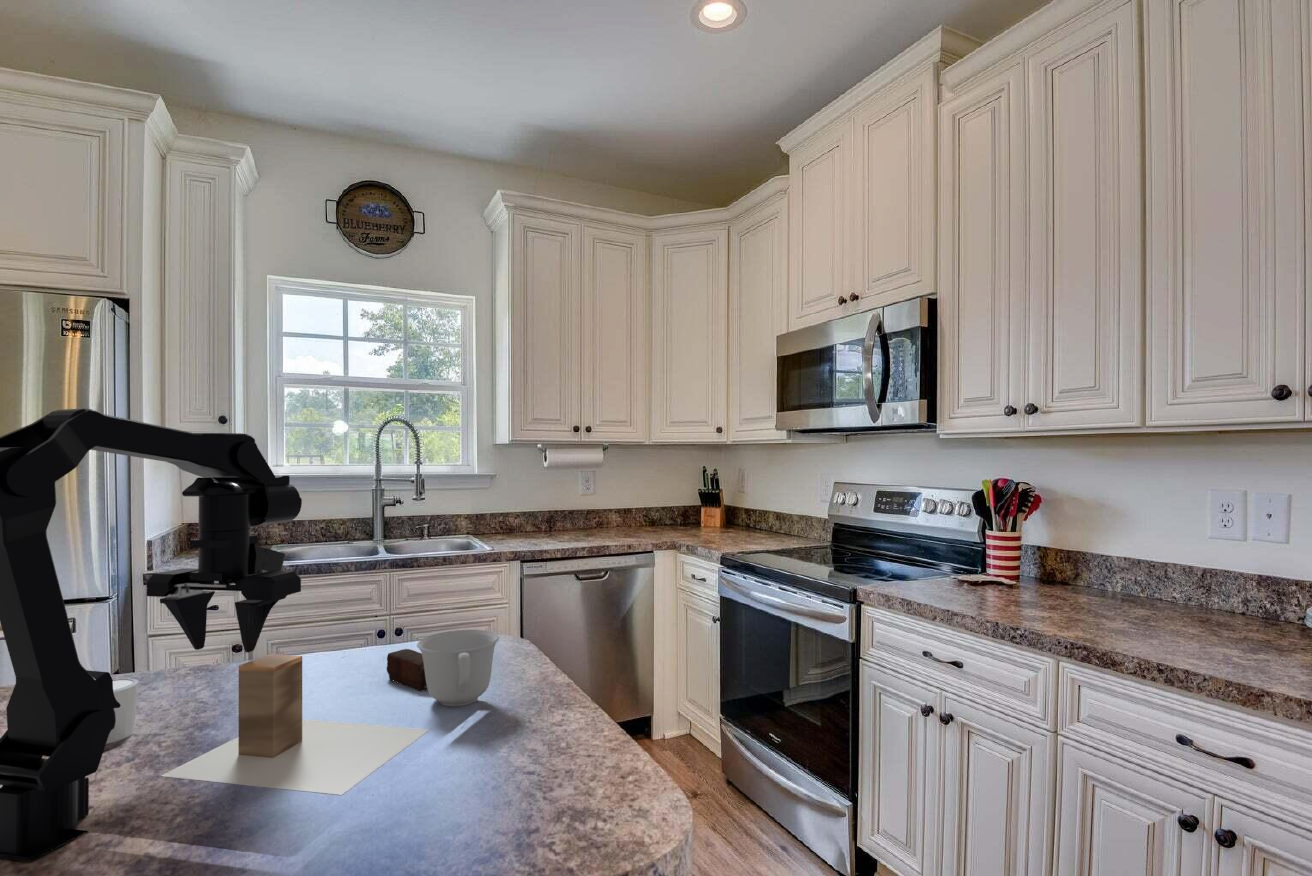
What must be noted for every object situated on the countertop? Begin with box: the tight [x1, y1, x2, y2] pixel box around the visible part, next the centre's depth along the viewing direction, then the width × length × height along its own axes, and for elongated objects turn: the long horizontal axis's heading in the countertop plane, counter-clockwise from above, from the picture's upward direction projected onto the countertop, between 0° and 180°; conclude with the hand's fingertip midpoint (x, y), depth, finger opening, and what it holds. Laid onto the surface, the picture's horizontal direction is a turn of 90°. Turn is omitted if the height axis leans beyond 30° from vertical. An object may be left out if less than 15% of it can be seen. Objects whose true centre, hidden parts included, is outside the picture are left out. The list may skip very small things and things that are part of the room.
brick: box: [386, 648, 428, 692], centre depth 114 cm, size 11×4×5 cm, turn 52°
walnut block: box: [238, 653, 303, 758], centre depth 87 cm, size 5×5×11 cm
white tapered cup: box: [106, 678, 140, 745], centre depth 93 cm, size 7×7×7 cm
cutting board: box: [160, 718, 431, 796], centre depth 85 cm, size 18×24×1 cm
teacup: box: [416, 629, 500, 707], centre depth 102 cm, size 12×15×10 cm
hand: (224, 650), depth 88 cm, fingers open, 7 cm apart
